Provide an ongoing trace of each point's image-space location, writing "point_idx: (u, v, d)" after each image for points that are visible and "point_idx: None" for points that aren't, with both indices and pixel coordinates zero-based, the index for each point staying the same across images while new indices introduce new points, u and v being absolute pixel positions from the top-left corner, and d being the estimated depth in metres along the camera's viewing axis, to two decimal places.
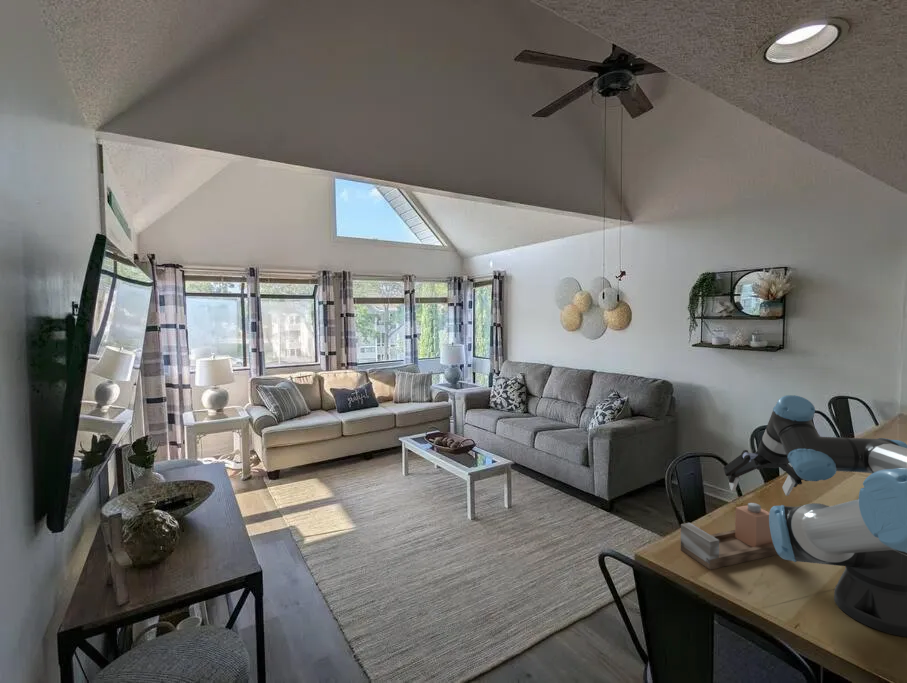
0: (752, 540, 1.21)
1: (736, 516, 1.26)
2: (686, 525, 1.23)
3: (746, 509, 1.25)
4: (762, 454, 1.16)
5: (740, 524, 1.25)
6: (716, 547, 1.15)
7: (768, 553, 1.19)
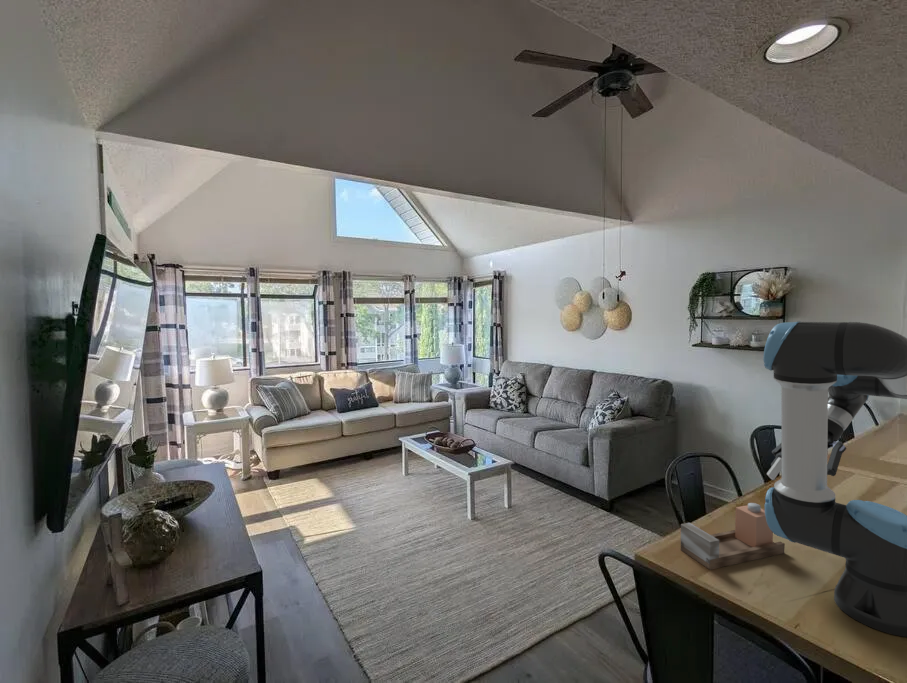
0: (752, 540, 1.21)
1: (736, 516, 1.26)
2: (686, 525, 1.23)
3: (746, 509, 1.25)
4: None
5: (740, 524, 1.25)
6: (716, 547, 1.15)
7: (768, 553, 1.19)
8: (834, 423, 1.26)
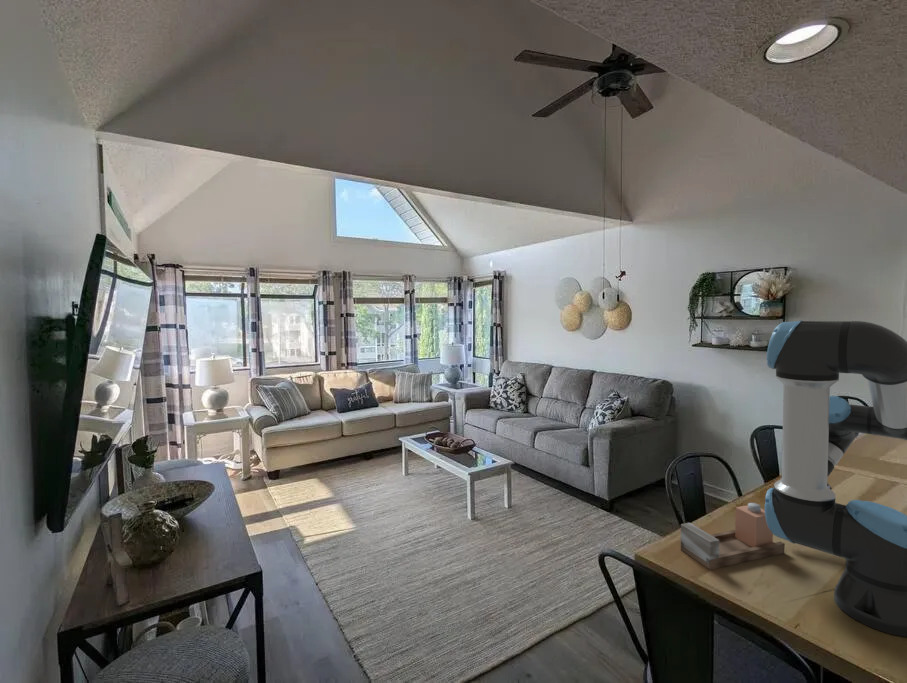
0: (752, 540, 1.21)
1: (736, 516, 1.26)
2: (686, 525, 1.23)
3: (746, 509, 1.25)
4: None
5: (740, 524, 1.25)
6: (716, 547, 1.15)
7: (768, 553, 1.19)
8: None
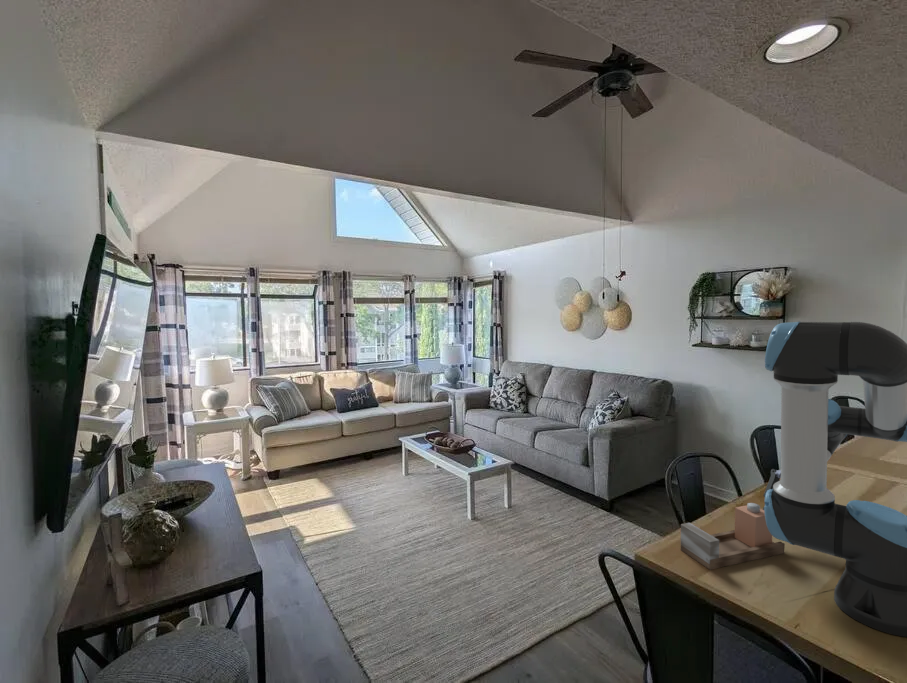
0: (751, 540, 1.21)
1: (735, 516, 1.26)
2: (686, 525, 1.23)
3: (745, 509, 1.24)
4: None
5: (740, 524, 1.25)
6: (716, 547, 1.15)
7: (768, 553, 1.19)
8: None
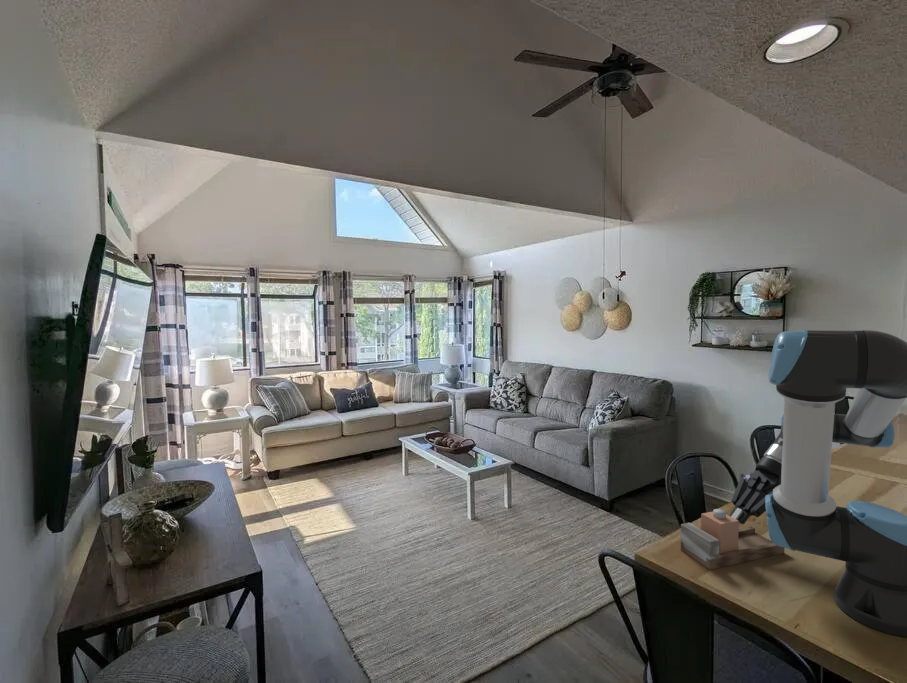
0: None
1: (702, 522, 1.23)
2: (686, 525, 1.23)
3: (712, 515, 1.21)
4: None
5: (706, 531, 1.22)
6: (716, 547, 1.15)
7: (768, 553, 1.19)
8: (781, 465, 1.22)
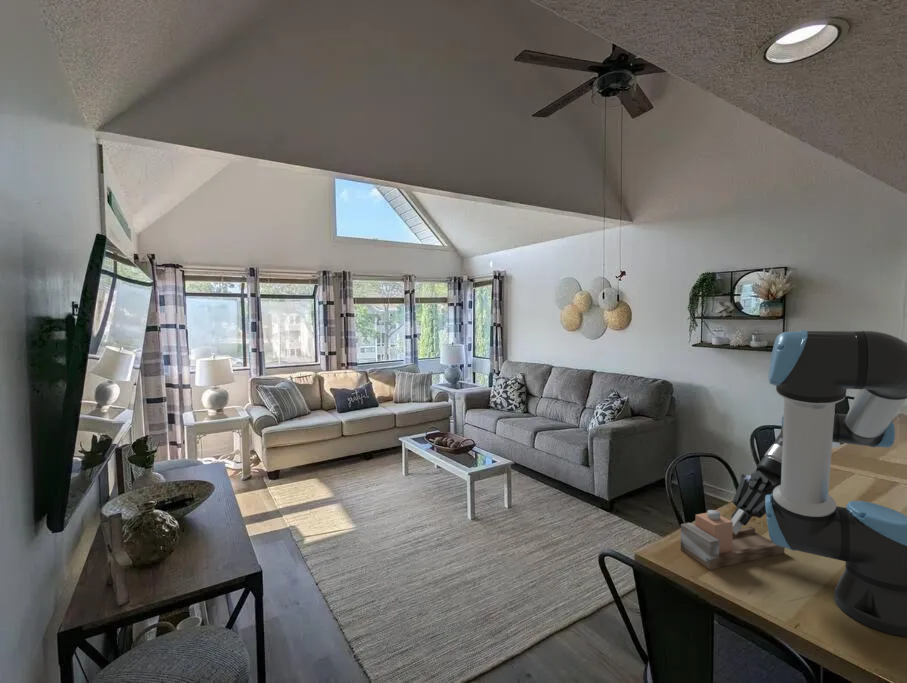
0: None
1: (696, 524, 1.22)
2: (686, 525, 1.23)
3: (706, 516, 1.21)
4: None
5: None
6: (716, 547, 1.15)
7: (768, 553, 1.19)
8: (782, 465, 1.22)
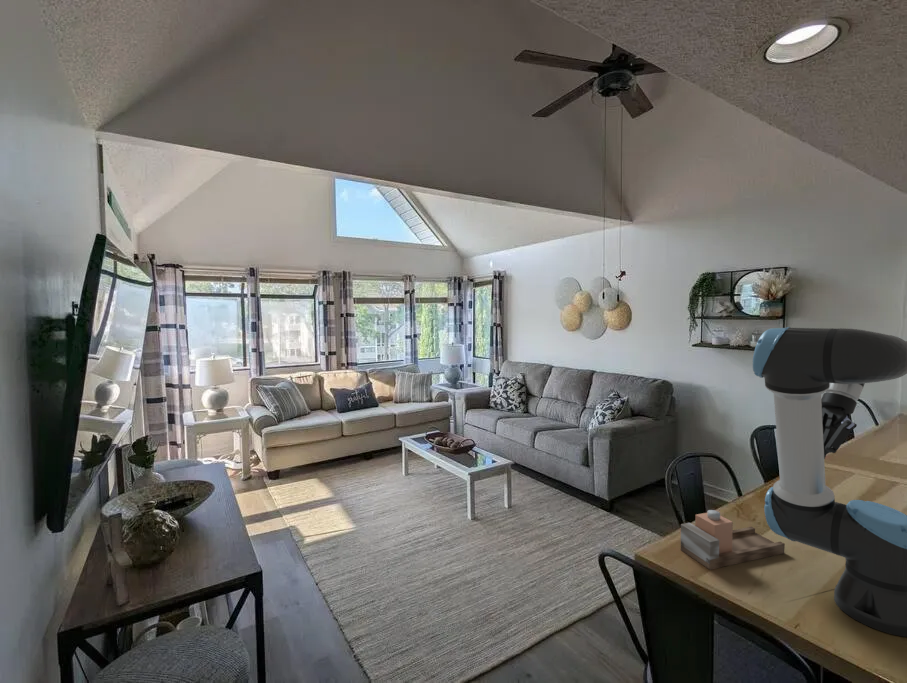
0: None
1: (696, 524, 1.22)
2: (686, 525, 1.23)
3: (706, 516, 1.21)
4: None
5: None
6: (716, 547, 1.15)
7: (768, 553, 1.19)
8: (843, 397, 1.23)
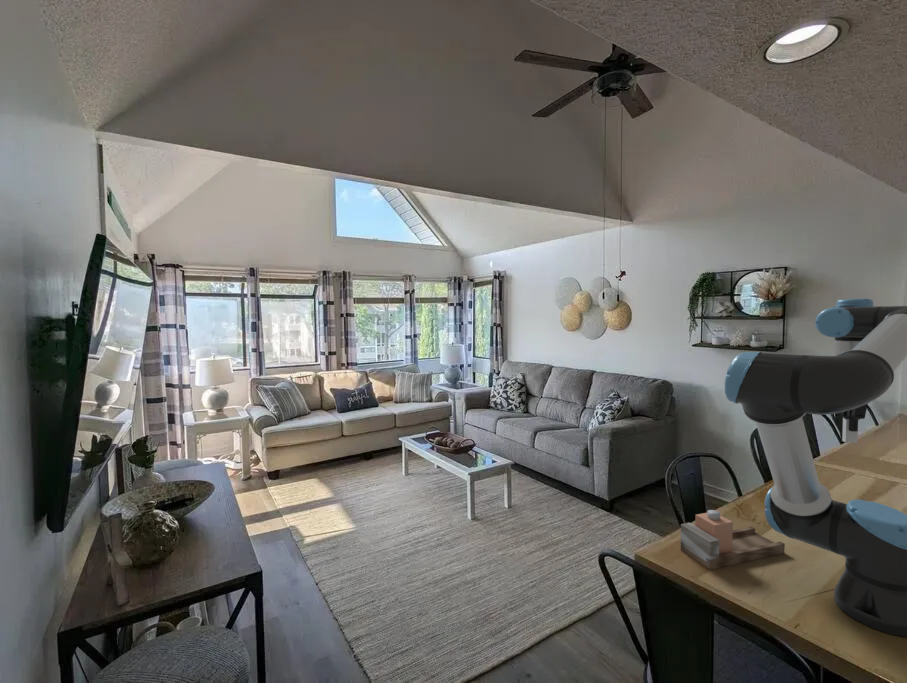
0: None
1: (696, 524, 1.22)
2: (686, 525, 1.23)
3: (706, 516, 1.21)
4: None
5: None
6: (716, 547, 1.15)
7: (768, 553, 1.19)
8: None
